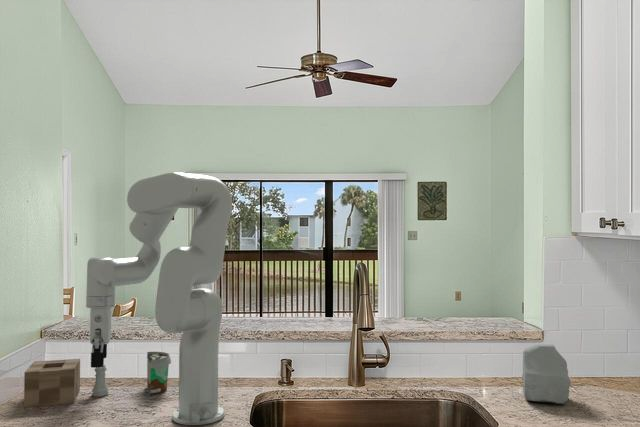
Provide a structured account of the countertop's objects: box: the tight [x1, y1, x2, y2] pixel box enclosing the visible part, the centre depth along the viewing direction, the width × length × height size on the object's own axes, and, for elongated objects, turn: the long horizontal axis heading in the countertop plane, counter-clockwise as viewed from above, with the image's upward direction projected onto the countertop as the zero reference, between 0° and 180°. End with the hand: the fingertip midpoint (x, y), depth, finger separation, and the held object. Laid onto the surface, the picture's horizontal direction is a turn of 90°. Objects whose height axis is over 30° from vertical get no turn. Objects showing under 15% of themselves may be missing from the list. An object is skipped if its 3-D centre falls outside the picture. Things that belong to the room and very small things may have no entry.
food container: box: [146, 351, 172, 397], centre depth 161 cm, size 12×6×10 cm, turn 22°
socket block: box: [23, 358, 81, 408], centre depth 153 cm, size 12×12×9 cm
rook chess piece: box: [91, 364, 110, 398], centre depth 157 cm, size 4×4×8 cm
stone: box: [522, 343, 572, 405], centre depth 153 cm, size 12×12×15 cm
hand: (98, 362), depth 157 cm, fingers open, 9 cm apart
